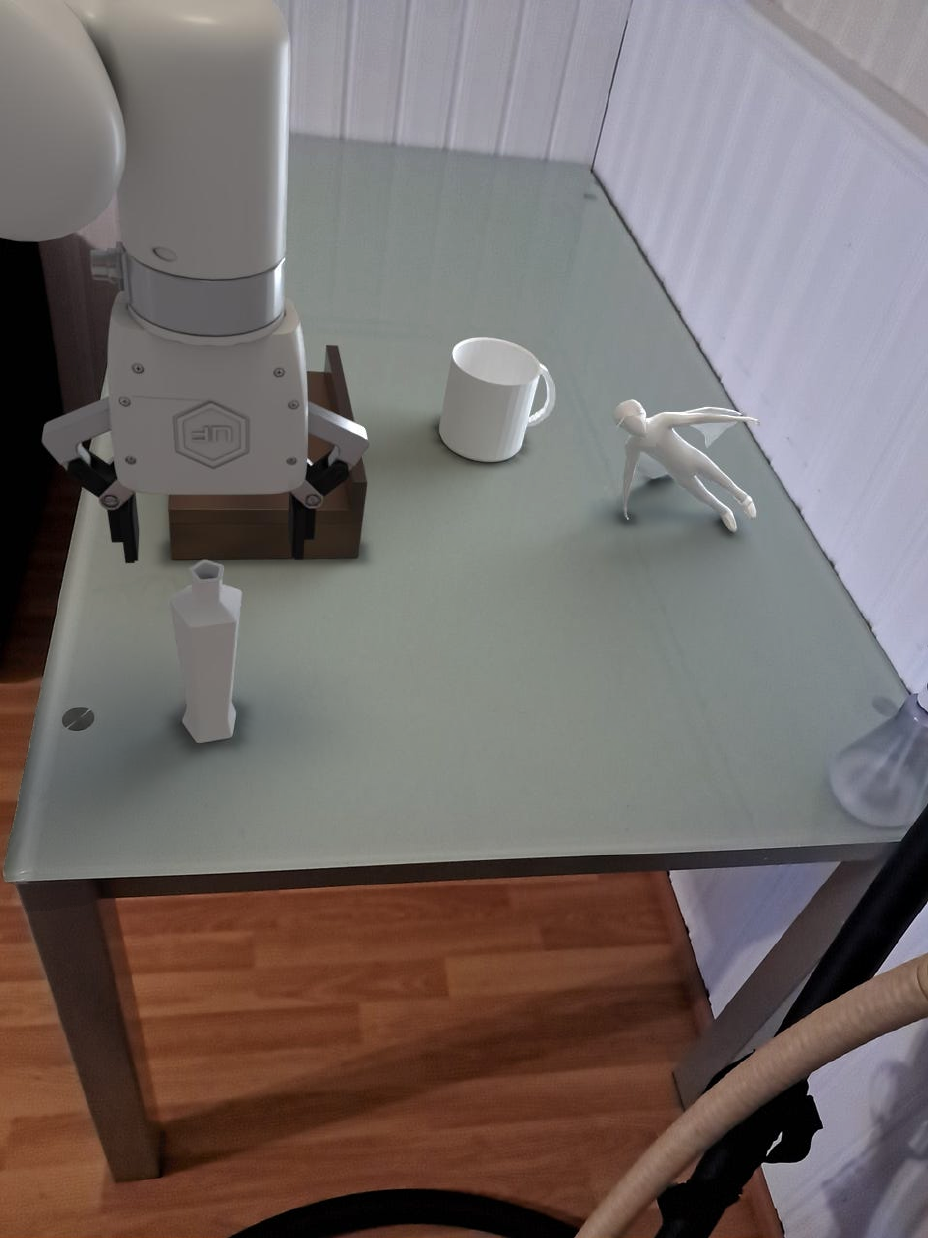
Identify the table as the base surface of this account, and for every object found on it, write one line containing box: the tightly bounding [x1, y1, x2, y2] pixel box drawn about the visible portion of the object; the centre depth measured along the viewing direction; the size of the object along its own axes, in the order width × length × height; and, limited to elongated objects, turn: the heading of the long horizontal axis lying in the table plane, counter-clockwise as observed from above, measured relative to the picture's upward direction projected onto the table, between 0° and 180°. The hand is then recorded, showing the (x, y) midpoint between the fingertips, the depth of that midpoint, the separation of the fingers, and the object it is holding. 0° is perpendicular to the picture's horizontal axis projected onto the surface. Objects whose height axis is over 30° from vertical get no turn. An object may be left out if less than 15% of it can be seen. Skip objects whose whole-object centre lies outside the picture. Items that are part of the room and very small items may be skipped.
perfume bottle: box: [169, 559, 243, 744], centre depth 65 cm, size 5×4×15 cm
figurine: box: [608, 399, 761, 533], centre depth 94 cm, size 16×11×20 cm
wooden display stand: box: [167, 344, 368, 560], centre depth 88 cm, size 16×22×8 cm
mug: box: [438, 336, 556, 463], centre depth 100 cm, size 12×9×9 cm
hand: (215, 546), depth 58 cm, fingers open, 9 cm apart
